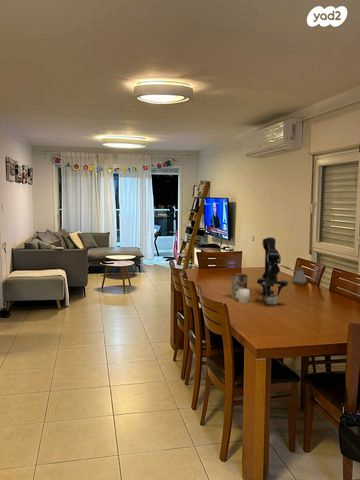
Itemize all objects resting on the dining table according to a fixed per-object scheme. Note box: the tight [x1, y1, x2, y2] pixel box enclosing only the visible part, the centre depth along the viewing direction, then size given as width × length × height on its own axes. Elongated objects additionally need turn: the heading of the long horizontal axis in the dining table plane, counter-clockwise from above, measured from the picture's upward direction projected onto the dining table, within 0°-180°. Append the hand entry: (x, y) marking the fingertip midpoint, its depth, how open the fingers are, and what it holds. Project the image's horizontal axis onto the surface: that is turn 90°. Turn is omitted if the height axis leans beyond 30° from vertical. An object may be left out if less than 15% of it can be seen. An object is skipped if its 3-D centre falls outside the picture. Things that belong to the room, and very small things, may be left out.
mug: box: [236, 288, 250, 304], centre depth 272 cm, size 7×9×8 cm
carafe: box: [262, 294, 279, 306], centre depth 266 cm, size 7×10×5 cm
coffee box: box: [230, 273, 248, 300], centre depth 281 cm, size 9×6×16 cm
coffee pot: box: [279, 264, 308, 286], centre depth 330 cm, size 21×12×15 cm, turn 88°
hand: (271, 295), depth 265 cm, fingers open, 8 cm apart
